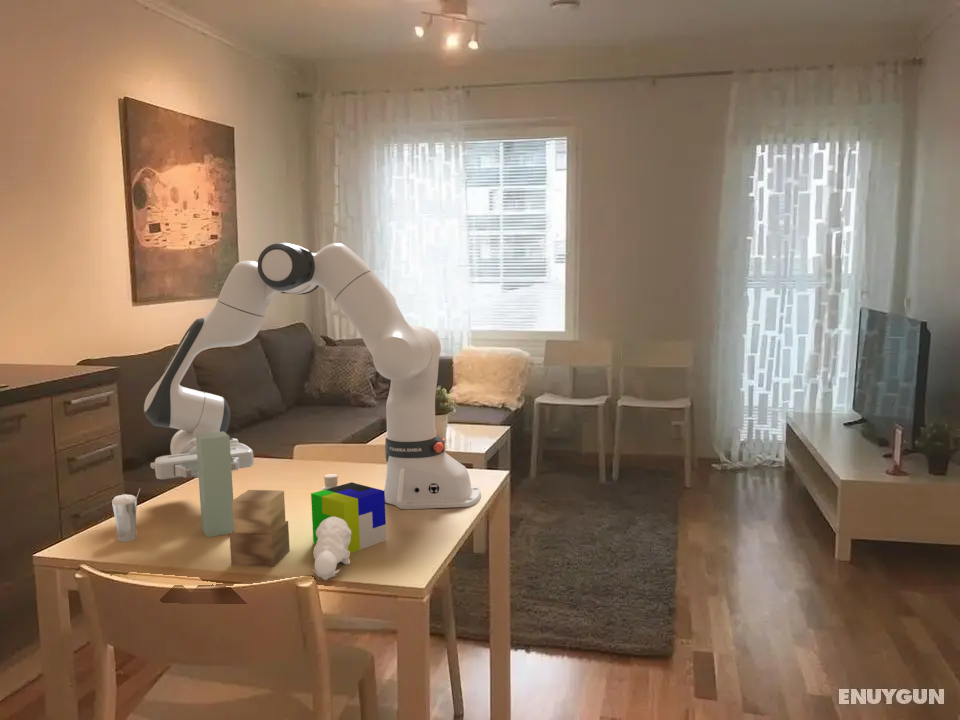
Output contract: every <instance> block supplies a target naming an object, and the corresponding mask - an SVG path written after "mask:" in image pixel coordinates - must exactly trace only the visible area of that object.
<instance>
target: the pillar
mask: <svg viewBox="0 0 960 720" xmlns="http://www.w3.org/2000/svg"><path fill="white" fill-rule="evenodd" d="M230 438H231V436H230V435H229V434H228V433H227V432H226V433H225V432H224V431H222V432H214V433H205V434H197V435H196V445H197V460H198V475H199V478H198V486H199V487H198V488H199V489H198V490H199V502H200V506H199V507H200V519H201V530H202V532H203V533H204V535H205V536H206V538H212V537H216V536H217V537H219V536H223V535H228V534H229V535H230V533H231V532H233V531H234V524H233V507H232V500H234V492H233V491H234V489H233V474H232V473H233V471H232V470H231V453H230Z"/></svg>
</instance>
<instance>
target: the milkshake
mask: <svg viewBox="0 0 960 720" xmlns="http://www.w3.org/2000/svg"><path fill="white" fill-rule="evenodd" d="M140 491H141V488H139V490H138V492H137V495H136V496H135V495H133V494H128V493H123V494H120V495H116V496H114V497H113V499H112V501H111V503H112V505H111V506H112V510H113V515H114V523H115V526H116V529H115V530H116V535H117V540H118V542H120V543H127V542H133V541H135V540H136V538H137V506H138V505H137V502H138V500H137V499H138V496H139V493H140Z"/></svg>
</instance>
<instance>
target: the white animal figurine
mask: <svg viewBox="0 0 960 720" xmlns="http://www.w3.org/2000/svg"><path fill="white" fill-rule="evenodd" d="M316 536H317V538H318V540H317V544H315V546H314V547H313V551H312V552H313V553H312V554H313V558H314V559H315V561H314V569H312V568H311V570H312V571H313V572H314V573H315V575H316V576H317V577H319V578H321V579H323V580H324V581H328V580H329V579H330V578H332V577H333V578H334V577H338V575H337V574H338V573H339V572H340V570H341V568H339V569H336V568H337V564H339V563H340V562H341V563H342V564H344V565H350V563H351V560H350V555H351V553H350V551H349V550H348V546H349V544H350V541H351V530H350V529H349V527H348V525H347V523H346V522H345V521H344V520H343V519H340V518H338V517H329V518H327V519H325V520H323V521H322V522H321V523H320V525H319V527H318V528H317V530H316ZM347 550H348V551H347Z"/></svg>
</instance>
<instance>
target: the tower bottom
mask: <svg viewBox="0 0 960 720" xmlns="http://www.w3.org/2000/svg"><path fill="white" fill-rule="evenodd" d="M285 521H286V522H284V523H283V524H282V525H281V526H280V527H278V528H277V529H276V530H275V531H274V532H272V533H271V534H258V533H234V531H233V532H231V533H230V534H229V545H230V546H229V549H230V563H231V564H230V566H235V567H236V566H240V567H241V566H243V567H244V566H245V567H246V566H247V567H271V568H273V567H276V565H277V564H278V563H279V562H280V561H281V560H282V559H283V558H284V557H285V556H286V555H287V554H288V553H289V552H290V533H289V532H290V531H289V530H290V529H289V520H285Z"/></svg>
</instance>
